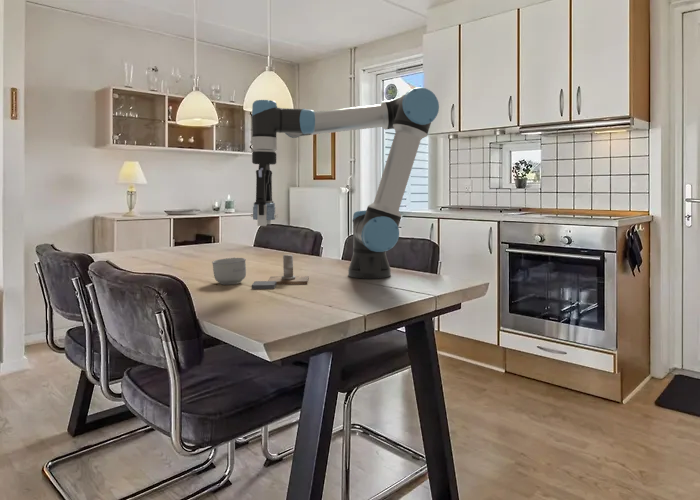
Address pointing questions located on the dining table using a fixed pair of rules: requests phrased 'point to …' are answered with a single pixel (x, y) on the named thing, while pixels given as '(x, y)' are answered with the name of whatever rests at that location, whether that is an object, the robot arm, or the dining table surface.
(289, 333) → the dining table surface
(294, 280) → the post board
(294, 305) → the dining table surface
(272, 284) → the coaster
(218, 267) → the teacup
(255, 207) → the cap
